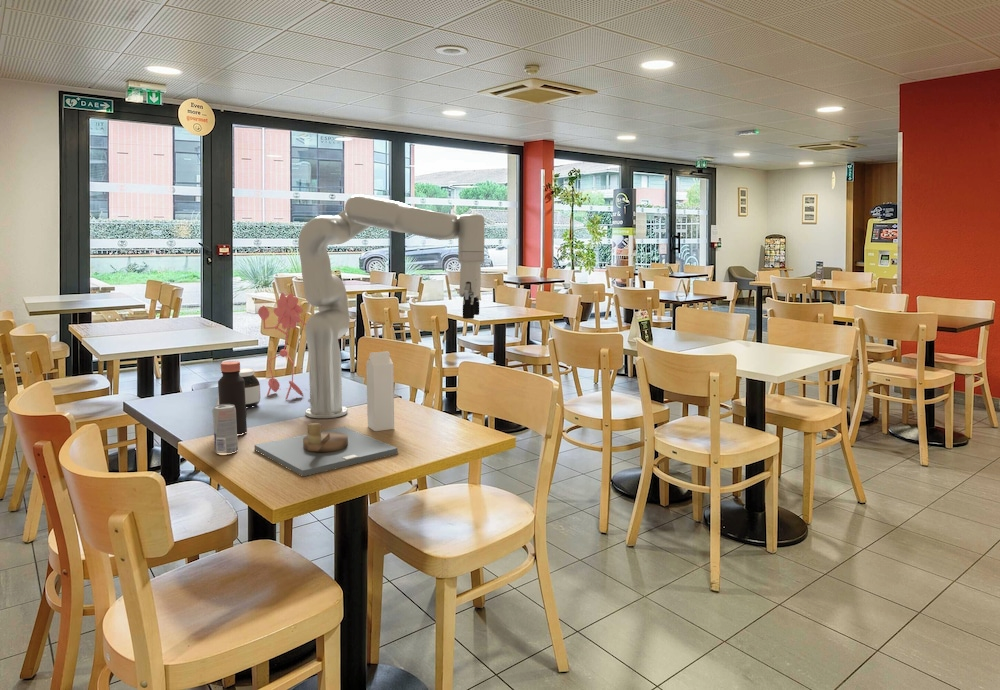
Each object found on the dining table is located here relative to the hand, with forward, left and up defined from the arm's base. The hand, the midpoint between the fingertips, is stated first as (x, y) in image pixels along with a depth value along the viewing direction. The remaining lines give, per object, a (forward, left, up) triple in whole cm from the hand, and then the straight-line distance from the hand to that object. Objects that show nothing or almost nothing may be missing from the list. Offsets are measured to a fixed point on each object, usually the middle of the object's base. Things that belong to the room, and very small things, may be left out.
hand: (471, 316), depth 205 cm
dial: (+1, -50, -30) cm, 58 cm away
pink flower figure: (-65, -25, -31) cm, 77 cm away
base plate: (0, -48, -31) cm, 57 cm away
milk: (-10, -25, -31) cm, 41 cm away
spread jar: (-60, -46, -32) cm, 82 cm away
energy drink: (-16, -67, -31) cm, 76 cm away
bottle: (-31, -59, -31) cm, 74 cm away
